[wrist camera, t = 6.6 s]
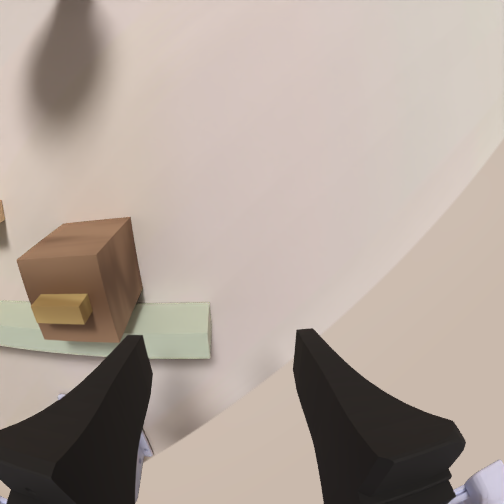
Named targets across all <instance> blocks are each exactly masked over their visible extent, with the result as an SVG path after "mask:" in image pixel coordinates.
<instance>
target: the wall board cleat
mask: <svg viewBox="0 0 504 504" xmlns="http://www.w3.org/2000/svg"><path fill="white" fill-rule="evenodd" d="M4 220H5V217H4V212H3V207H2V201H1V200H0V223H1V222H2V221H4ZM211 328H212V325H211V314H210V303H209V302H197V303H140V304H136V305H135V307H134V310H133V312H132V314H131V317H130V319H129V321H128V324H127V326H126V329H125V331H124V333H123V336H122V338H121V341H122V340H123V339H124V338H125V337H126V336H127V335H143V338H144V342H145V346H146V350H147V354H148V358H149V359H206V358H210V350H211ZM121 341H120V342H121ZM118 345H119V343H106V342H77V341H59V340H45V339H44V337H43V335H42V332H41V330H40V327H39V325H38V323H37V322H36V319H35V317H34V314H33V311H32V309H31V304H30V302H21V301H0V346H6V347H12V348H19V349H27V350H35V351H43V352H52V353H62V354H73V355H86V356H101V357H107V356H108V355H109V354H110V353H111V352H112V351H113V350H114V349H115V348H116V347H117V346H118Z"/></svg>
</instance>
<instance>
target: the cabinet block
mask: <svg viewBox="0 0 504 504" xmlns="http://www.w3.org/2000/svg"><path fill="white" fill-rule="evenodd" d="M17 263H18V267H19V270H20V273H21V277H22V280H23V283H24V286H25V289H26V292H27V295H28V298H29V301H30V304H31V309H32V311H33V314H34V317H35V319H36V322H37V323H38V325H39V327H40V330H41V332H42V335H43V337H44V339H45V340H59V341H77V342H106V343H120V341H121V338H122V336H123V333H124V331H125V329H126V326H127V324H128V321H129V319H130V317H131V314H132V312H133V310H134V307H135V305H136V303H137V300H138V298H139V296H140V294H141V291H142V289H143V286H142V282H141V276H140V271H139V266H138V260H137V255H136V249H135V243H134V237H133V231H132V224H131V217H126V218H115V219H104V220H94V221H84V222H75V223H66V224H62V225H61V226H60V227H58V228H57V229H56V230H54V231H53V232H52V233H50V234H49V235H48V236H46V237H45V238H44V239H42V240H41V241H40V242H38V243H37V244H36V245H35V246H33V247H32V248H31V249H30V250H28V251H27V252H26V253H25V254H23V255H22V256H21V257H20V258H18V259H17Z"/></svg>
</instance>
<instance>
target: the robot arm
mask: <svg viewBox="0 0 504 504" xmlns="http://www.w3.org/2000/svg"><path fill="white" fill-rule="evenodd" d="M293 372H294V378H295V383H296V389H297V393H298V396H299V399H300V402H301V406H302V409H303V412H304V415H305V418H306V421H307V424H308V427H309V430H310V433H311V436H312V440H313V444H314V448H315V453H316V458H317V464H318V469H319V475H320V481H321V486H322V494H323V501H324V504H504V464H503V463H502V461H501V460H497V461H495V462H494V463H492V464H490V465H489V466H487V467H485V468H483V469H481V470H480V471H478V472H476V473H475V474H474V475H473V476H471V477H470V478H469V479H468V480H467V481H466V483H465V484H464V485H462V486H460V487H458V488H456V489H454V490H453V488H452V486H451V484H450V482H449V479H450V478H451V477H452V475H451V473H450V471H449V467H450V466H451V465H452V464H453V463H454V462H455V460H456V459H457V458H458V457H459V455H460V454H461V453H462V451H463V450H464V447H465V443H466V442H465V440H464V438H463V436H462V434H461V433H460V431H459V429H458V428H457V426H456V425H455V423H454V422H453V421H451V420H448V419H445V418H442V417H438V416H435V415H432V414H429V413H427V412H424V411H422V410H419V409H417V408H415V407H412V406H410V405H408V404H406V403H404V402H402V401H400V400H398V399H396V398H394V397H393V396H391V395H389V394H387V393H386V392H384V391H382V390H381V389H379V388H378V387H377V386H375V385H374V384H372V383H371V382H369V381H368V380H366V379H365V378H364V377H363V376H361V375H360V374H359V373H358V372H356V371H355V370H354V369H353V368H351V366H349V365H348V364H347V363H346V362H345V361H344V360H343V359H342V358H341V357H340V356H339V355H338V354H337V353H336V352H335V351H334V350H332V348H331V347H330V346H329V345H328V344H327V343H326V342H325V341H324V340H323V339H322V338H321V337H320V336H319V335H318V333H317V332H316V331H315V330H314V329H313V328H312V329H300V330H297V331H296V343H295V354H294V364H293ZM152 376H153V373H152V369H151V366H150V362H149V358H148V354H147V350H146V346H145V342H144V338H143V335H127V336H126V337H125V338H124V339H123V340H122V341H121V342H120V343H119V345H118V346H117V347H116V348H115V349H114V350H113V351H112V352H111V353H110V354H109V355H108V356H107V357H106V359H105V360H104V361H103V362H102V363H101V364H100V365H99V366H98V367H97V368H96V369H95V370H94V371H93V372H92V373H91V374H90V375H88V376H87V377H86V378H85V379H84V380H83V381H82V382H81V383H80V384H79V385H78V386H76V387H75V388H74V389H73V390H72V391H70V392H69V393H68V394H66V395H65V394H59V395H58V401H56V402H55V403H53V404H52V405H50V406H49V407H47V408H46V409H44V410H43V411H41V412H39V413H37V414H35V415H34V416H32V417H30V418H28V419H26V420H24V421H21V422H19V423H17V424H14V425H12V426H9V427H7V428H4V429H2V430H0V480H1V481H2V482H3V483H4V484H6V485H7V486H8V487H9V488H10V489H11V491H10V495H9V497H8V499H6V498H4V497H2V496H0V504H135V502H136V501H137V498H138V493H139V487H140V479H141V473H142V466H143V460H144V456H149V457H150V456H153V452H152V449H151V447H150V445H149V443H148V441H147V439H146V436H145V434H144V432H143V430H142V429H143V424H144V420H145V416H146V412H147V408H148V404H149V399H150V394H151V386H152Z"/></svg>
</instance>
